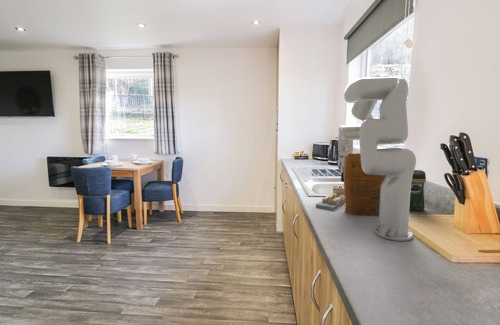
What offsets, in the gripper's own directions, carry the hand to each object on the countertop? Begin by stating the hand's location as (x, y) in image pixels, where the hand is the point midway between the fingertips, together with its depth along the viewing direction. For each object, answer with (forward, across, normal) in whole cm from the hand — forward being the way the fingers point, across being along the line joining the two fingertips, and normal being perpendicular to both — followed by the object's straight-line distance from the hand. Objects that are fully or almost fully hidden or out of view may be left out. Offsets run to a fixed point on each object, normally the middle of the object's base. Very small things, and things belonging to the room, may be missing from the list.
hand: (344, 181), depth 146 cm
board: (+9, -16, 0) cm, 18 cm away
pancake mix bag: (+9, -22, -18) cm, 30 cm away
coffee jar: (+9, -2, -33) cm, 34 cm away
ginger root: (+7, -13, 0) cm, 15 cm away
